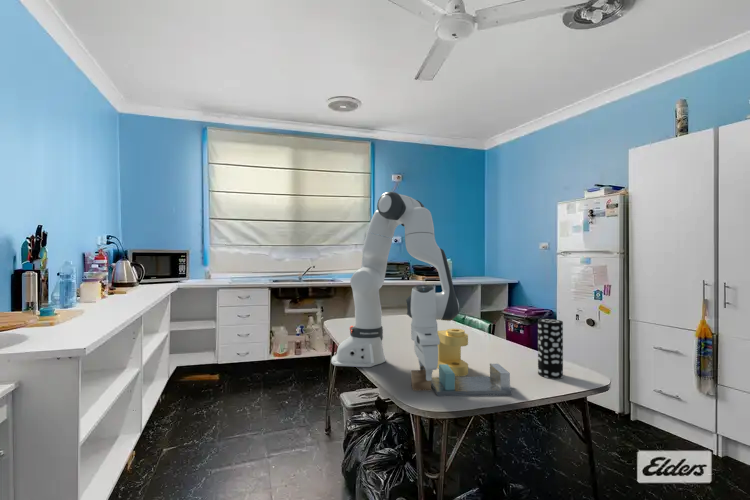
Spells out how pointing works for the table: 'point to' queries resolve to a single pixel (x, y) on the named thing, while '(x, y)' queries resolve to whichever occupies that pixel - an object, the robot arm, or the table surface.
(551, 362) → the white-spotted black cylinder
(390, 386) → the table surface
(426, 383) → the block
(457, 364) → the clamp
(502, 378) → the vise
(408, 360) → the table surface
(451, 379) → the block
